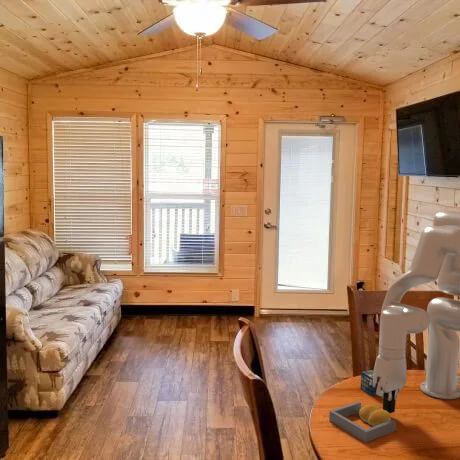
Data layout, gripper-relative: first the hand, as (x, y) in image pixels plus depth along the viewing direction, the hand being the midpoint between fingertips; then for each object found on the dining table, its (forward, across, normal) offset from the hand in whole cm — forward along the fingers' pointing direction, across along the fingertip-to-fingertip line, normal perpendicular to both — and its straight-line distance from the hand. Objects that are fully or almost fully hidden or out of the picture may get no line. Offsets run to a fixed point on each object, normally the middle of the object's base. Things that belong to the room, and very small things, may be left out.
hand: (388, 410), depth 152 cm
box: (+2, +10, 0) cm, 10 cm away
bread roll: (+2, +5, -1) cm, 6 cm away
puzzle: (+2, -10, -14) cm, 18 cm away
